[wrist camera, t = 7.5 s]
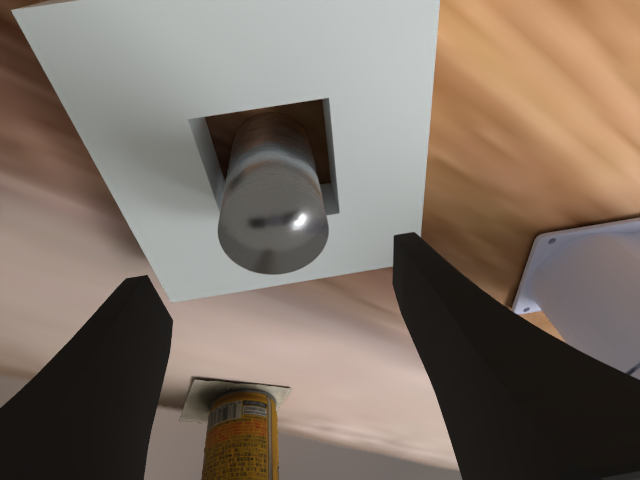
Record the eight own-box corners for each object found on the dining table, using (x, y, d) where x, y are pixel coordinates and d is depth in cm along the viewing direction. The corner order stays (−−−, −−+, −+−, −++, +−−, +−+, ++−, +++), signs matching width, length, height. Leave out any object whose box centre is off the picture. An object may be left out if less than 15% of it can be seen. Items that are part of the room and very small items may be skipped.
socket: (414, -53, 14) (444, -53, 12) (403, 230, 23) (418, 262, 21) (52, -1, 14) (10, 10, 12) (180, 266, 23) (171, 302, 20)
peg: (300, 103, 18) (316, 173, 12) (318, 176, 20) (337, 261, 15) (220, 124, 18) (198, 202, 12) (247, 193, 20) (239, 284, 15)
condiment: (267, 425, 37) (268, 587, 28) (179, 418, 34) (147, 596, 25) (292, 386, 33) (304, 559, 24) (195, 375, 30) (165, 567, 21)
